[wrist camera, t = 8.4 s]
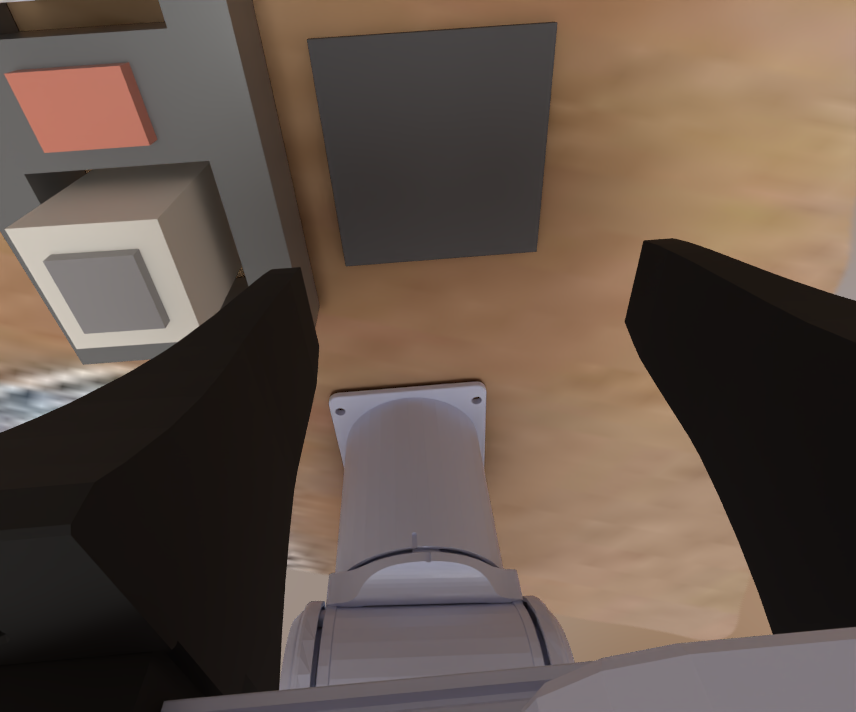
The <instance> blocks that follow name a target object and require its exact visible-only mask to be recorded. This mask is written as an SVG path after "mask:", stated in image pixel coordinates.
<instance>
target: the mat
mask: <svg viewBox="0 0 856 712" xmlns="http://www.w3.org/2000/svg"><path fill="white" fill-rule="evenodd" d="M556 33H557V22H546V23H531V24H517V25H502V26H488V27H473V28H458V29H444V30H429V31H415V32H400V33H385V34H371V35H356V36H342V37H327V38H313V39H307V43H308V49H309V54H310V60H311V66H312V72H313V78H314V84H315V89H316V95H317V101H318V107H319V113H320V119H321V124H322V130H323V136H324V142H325V148H326V153H327V159H328V165H329V171H330V177H331V183H332V188H333V194H334V200H335V206H336V212H337V218H338V223H339V229H340V235H341V241H342V247H343V252H344V258H345V264H346V266H356V265H369V264H382V263H395V262H408V261H421V260H434V259H447V258H460V257H473V256H486V255H499V254H512V253H525V252H537V242H538V231H539V220H540V209H541V198H542V187H543V176H544V165H545V154H546V143H547V132H548V121H549V110H550V99H551V88H552V77H553V66H554V55H555V44H556Z"/></svg>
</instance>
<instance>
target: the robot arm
mask: <svg viewBox="0 0 856 712" xmlns="http://www.w3.org/2000/svg"><path fill="white" fill-rule="evenodd" d="M625 324H626V326H627V329H628V331H629V334H630V336H631V339H632V341H633V344H634V346H635V348H636V351H637V353H638V355H639V357H640V359H641V361H642V363H643V364H644V366H645V368H646V369H647V371H648V372H649V374H650V376H651V377H652V379H653V381H654V382H655V384H656V385H657V387H658V389H659V390H660V392H661V393H662V395H663V396H664V398H665V400H666V401H667V403H668V404H669V406H670V408H671V409H672V411H673V412H674V414H675V415H676V417H677V419H678V420H679V422H680V423H681V425H682V426H683V428H684V430H685V431H686V433H687V434H688V436H689V438H690V439H691V441H692V443H693V445H694V446H695V448H696V450H697V452H698V454H699V455H700V457H701V459H702V462H703V464H704V466H705V468H706V470H707V472H708V474H709V476H710V478H711V480H712V483H713V485H714V487H715V489H716V491H717V493H718V495H719V497H720V500H721V502H722V504H723V507H724V509H725V511H726V514H727V516H728V518H729V520H730V523H731V525H732V527H733V530H734V532H735V534H736V537H737V539H738V541H739V544H740V547H741V549H742V552H743V554H744V557H745V559H746V562H747V564H748V567H749V570H750V572H751V575H752V577H753V580H754V582H755V585H756V587H757V590H758V592H759V595H760V598H761V601H762V604H763V606H764V610H765V613H766V616H767V619H768V622H769V624H770V627H771V630H772V633H773V635H764V636H753V637H743V638H731V639H720V640H709V641H699V642H688V643H678V644H672V645H667V646H662V647H657V648H651V649H646V650H642V651H636V652H631V653H626V654H621V655H616V656H610V657H605V658H601V659H599V660H596V661H588V662H578V663H575V662H574V658H573V655H572V652H571V649H570V646H569V643H568V640H567V638H566V635H565V633H564V631H563V629H562V627H561V625H560V623H559V622H558V620H557V619H556V617H555V616H554V615H553V614H552V613H551V612H550V611H549V610H548V608H547V607H546V605H545V604H544V603H543V602H542V601H541V600H540V599H539V598H537V597H535V596H522V593H521V588H520V583H519V579H518V574H517V571H516V570H515V569H503V565H502V560H501V554H500V549H499V544H498V539H497V534H496V529H495V523H494V518H493V513H492V508H491V503H490V497H489V492H488V487H487V482H486V477H485V472H484V460H485V424H486V388H485V385H484V384H483V383H481V382H476V381H475V382H463V383H451V384H439V385H427V386H414V387H402V388H390V389H378V390H366V391H353V392H341V393H335V394H333V395H331V396H330V398H329V408H330V412H331V416H332V420H333V424H334V428H335V432H336V437H337V441H338V445H339V449H340V453H341V457H342V461H343V466H344V478H343V489H342V501H341V513H340V524H339V536H338V547H337V559H336V570H335V573H331V574H329V582H328V592H327V602H326V607H325V602H324V601H311V602H309V603H308V604H307V606H306V607H305V610H304V611H303V612H302V613H301V614H300V615H299V616H298V617H297V618H296V619H295V620H294V621H293V623H292V626H291V628H290V632H289V636H288V640H287V644H286V648H285V654H284V659H283V665H282V671H281V678H280V660H281V640H282V623H283V609H284V594H285V579H286V568H287V557H288V545H289V534H290V524H291V515H292V505H293V496H294V488H295V482H296V476H297V470H298V466H299V461H300V457H301V452H302V448H303V444H304V439H305V435H306V430H307V426H308V421H309V417H310V412H311V408H312V403H313V398H314V394H315V389H316V384H317V372H318V357H319V343H318V339H317V335H316V330H315V326H314V322H313V318H312V313H311V309H310V305H309V301H308V296H307V292H306V288H305V284H304V279H303V275H302V271H301V267H294V268H281V269H271V270H269V271H268V272H266V273H265V274H263V275H262V276H261V277H260V278H258V279H257V280H256V281H255V282H253V283H252V284H251V285H250V286H249V287H247V288H246V289H245V290H244V291H243V292H241V293H240V294H239V295H238V296H237V297H235V298H234V299H233V300H232V301H231V302H229V303H228V304H227V305H226V306H224V307H223V308H222V309H221V310H220V311H218V312H217V313H216V314H215V315H213V316H212V317H211V318H209V319H208V320H207V321H205V322H204V323H203V324H201V325H200V326H199V327H197V328H196V329H195V330H193V331H192V332H191V333H189V334H188V335H187V336H185V337H184V338H183V339H181V340H180V341H178V342H177V343H176V344H174V345H173V346H171V347H170V348H168V349H167V350H165V351H164V352H162V353H160V354H159V355H157V356H156V357H154V358H152V359H151V360H149V361H147V362H146V363H144V364H142V365H141V366H139V367H138V368H136V369H134V370H133V371H131V372H129V373H127V374H125V375H124V376H122V377H120V378H118V379H116V380H114V381H112V382H110V383H108V384H106V385H104V386H102V387H100V388H98V389H96V390H94V391H93V392H91V393H89V394H87V395H85V396H83V397H81V398H79V399H77V400H75V401H73V402H71V403H69V404H67V405H64V406H62V407H60V408H58V409H56V410H53V411H51V412H49V413H47V414H44V415H42V416H40V417H38V418H35V419H33V420H31V421H28V422H26V423H23V424H21V425H18V426H16V427H14V428H11V429H9V430H6V431H4V432H1V433H0V712H856V301H855V300H851V299H848V298H844V297H841V296H838V295H834V294H831V293H828V292H825V291H822V290H819V289H816V288H813V287H810V286H807V285H804V284H801V283H798V282H795V281H793V280H790V279H787V278H784V277H781V276H779V275H776V274H773V273H771V272H768V271H765V270H762V269H760V268H757V267H755V266H752V265H749V264H747V263H744V262H742V261H739V260H736V259H734V258H731V257H729V256H726V255H723V254H721V253H718V252H715V251H713V250H710V249H707V248H704V247H701V246H699V245H696V244H693V243H689V242H686V241H682V240H678V239H673V238H671V239H658V240H645V241H643V245H642V250H641V254H640V258H639V263H638V267H637V271H636V275H635V280H634V284H633V288H632V293H631V297H630V301H629V306H628V310H627V314H626V318H625ZM474 397H479V398H478V399H473V398H474ZM338 408H342V409H344V410H338ZM279 683H280V685H279Z"/></svg>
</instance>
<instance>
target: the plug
mask: <svg viewBox="0 0 856 712" xmlns="http://www.w3.org/2000/svg"><path fill="white" fill-rule="evenodd" d="M5 231H6V232H7V234H8V236H9V237H10V239H11V241H12V242H13V244H14V246H15V247H16V249H17V251H18V252H19V254H20V256H21V257H22V259H23V261H24V262H25V264H26V266H27V267H28V269H29V271H30V272H31V274H32V276H33V277H34V279H35V281H36V282H37V284H38V286H39V287H40V289H41V291H42V292H43V294H44V296H45V297H46V299H47V301H48V302H49V304H50V306H51V307H52V309H53V311H54V312H55V314H56V316H57V317H58V319H59V321H60V322H61V324H62V326H63V327H64V329H65V331H66V332H67V334H68V336H69V337H70V339H71V341H72V342H73V344H74V346H75V347H76V349H86V348H100V347H114V346H128V345H142V344H156V343H171V342H178V341H180V340H181V339H183V338H184V337H185V336H187V335H188V334H189V333H191V332H192V331H193V330H195V329H196V328H197V327H199V326H200V325H201V324H203V323H204V322H205V321H207V320H208V319H209V318H211V317H212V316H213V315H215V314H216V313H217V312H218V311H219V310H220V308H221V306H222V304H223V302H224V300H225V298H226V296H227V294H228V292H229V290H230V288H231V286H232V284H233V282H234V280H235V278H236V276H237V274H238V272H239V270H240V268H241V266H242V264H241V261H240V257H239V254H238V251H237V248H236V245H235V242H234V238H233V235H232V232H231V229H230V226H229V223H228V219H227V216H226V213H225V210H224V207H223V204H222V200H221V197H220V194H219V191H218V188H217V185H216V181H215V178H214V175H213V172H212V169H211V165H210V162H209V161H199V162H185V163H172V164H158V165H144V166H131V167H117V168H103V169H93V170H91V171H90V172H88V173H87V174H85V175H84V176H82V177H81V178H79V179H78V180H76V181H75V182H73V183H72V184H70V185H69V186H68V187H66V188H65V189H63V190H62V191H60V192H59V193H57V194H56V195H54V196H53V197H51V198H50V199H48V200H47V201H45V202H44V203H42V204H41V205H39V206H38V207H36V208H35V209H33V210H32V211H30V212H29V213H28V214H26V215H25V216H23V217H22V218H20V219H19V220H17V221H16V222H14V223H13V224H11V225H10V226H8V227H7V228H5Z"/></svg>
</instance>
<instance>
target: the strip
mask: <svg viewBox="0 0 856 712" xmlns="http://www.w3.org/2000/svg"><path fill="white" fill-rule="evenodd" d="M18 1H33V0H0V232H1V233H2V235H3V236H4V238H5V240H6V241H7V243H8V245H9V246H10V248H11V249H12V251H13V253H14V254H15V256H16V257H17V259H18V261H19V262H20V264H21V265H22V267H23V269H24V270H25V272H26V274H27V275H28V277H29V278H30V280H31V282H32V283H33V285H34V286H35V288H36V290H37V291H38V293H39V294H40V296H41V298H42V299H43V301H44V303H45V304H46V306H47V307H48V309H49V311H50V312H51V314H52V315H53V317H54V319H55V320H56V322H57V323H58V325H59V327H60V328H61V330H62V332H63V333H64V335H65V336H66V338H67V340H68V341H69V343H70V344H71V346H72V348H73V349H74V351H75V352H76V354H77V356H78V357H79V359H80V360H81V362H82V364H83V365H84V364H97V363H109V362H122V361H134V360H147V359H152V358H154V357H156V356H157V355H159V354H160V353H162V352H164V351H165V350H167V349H168V348H170V347H171V346H173V345H174V344H176V343H177V342H171V343H156V344H142V345H128V346H114V347H100V348H86V349H76V347H75V346H74V344H73V342H72V341H71V339H70V337H69V336H68V334H67V332H66V331H65V329H64V327H63V326H62V324H61V322H60V321H59V319H58V317H57V316H56V314H55V312H54V311H53V309H52V307H51V306H50V304H49V302H48V301H47V299H46V297H45V296H44V294H43V292H42V291H41V289H40V287H39V286H38V284H37V282H36V281H35V279H34V277H33V276H32V274H31V272H30V271H29V269H28V267H27V266H26V264H25V262H24V261H23V259H22V257H21V256H20V254H19V252H18V251H17V249H16V247H15V246H14V244H13V242H12V241H11V239H10V237H9V236H8V234H7V232H6V231H5V228H7V227H8V226H10V225H11V224H13V223H14V222H16V221H17V220H19V219H20V218H22V217H23V216H25V215H26V214H28V213H29V212H30V211H32V210H33V209H35V208H36V207H38V206H39V205H41V204H42V203H44V202H45V201H47V200H48V199H50V198H51V197H53V196H54V195H56V194H57V193H59V192H60V191H62V190H63V189H65V188H66V187H68V186H69V185H70V184H72V183H73V182H75V181H76V180H78V179H79V178H81V177H82V176H84V175H85V174H86V173H85V170H89V169H103V168H117V167H131V166H144V165H158V164H172V163H185V162H199V161H209V162H210V165H211V169H212V172H213V175H214V178H215V181H216V185H217V188H218V191H219V194H220V197H221V200H222V204H223V207H224V210H225V213H226V216H227V219H228V223H229V226H230V229H231V232H232V235H233V238H234V242H235V245H236V248H237V251H238V254H239V257H240V261H241V264H242V267H243V270H244V273H245V276H246V277H242V278H235V280H234V282H233V284H232V286H231V288H230V290H229V292H228V294H227V296H226V298H225V300H224V302H223V304H222V306H221V308H220V310H221V309H222V308H223V307H224V306H226V305H227V304H228V303H229V302H231V301H232V300H233V299H234V298H235V297H237V296H238V295H239V294H240V293H241V292H243V291H244V290H245V289H246V288H247V287H249V286H250V285H251V284H252V283H253V282H255V281H256V280H257V279H258V278H260V277H261V276H262V275H263V274H265V273H266V272H268V271H269V270H271V269H281V268H294V267H301V271H302V275H303V279H304V284H305V288H306V292H307V296H308V301H309V305H310V309H311V313H312V318H313V322H314V326H316V321H317V316H318V311H319V301H318V297H317V292H316V288H315V283H314V278H313V274H312V269H311V265H310V260H309V256H308V251H307V247H306V242H305V238H304V233H303V229H302V224H301V219H300V215H299V210H298V206H297V201H296V197H295V192H294V188H293V183H292V179H291V174H290V170H289V165H288V160H287V156H286V151H285V147H284V142H283V138H282V133H281V129H280V124H279V120H278V115H277V111H276V106H275V101H274V97H273V92H272V88H271V83H270V79H269V74H268V70H267V65H266V61H265V56H264V52H263V47H262V42H261V38H260V33H259V29H258V24H257V20H256V15H255V11H254V6H253V2H252V0H158V1H159V4H160V7H161V10H162V13H163V16H164V20H165V22H154V23H139V24H125V25H110V26H95V27H80V28H65V29H50V30H36V31H21V32H19V30H18V28H17V26H16V24H15V22H14V20H13V18H12V16H11V13H10V11H9V9H8V7H7V5H6V3H5V2H18ZM220 310H219V311H220Z"/></svg>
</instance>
